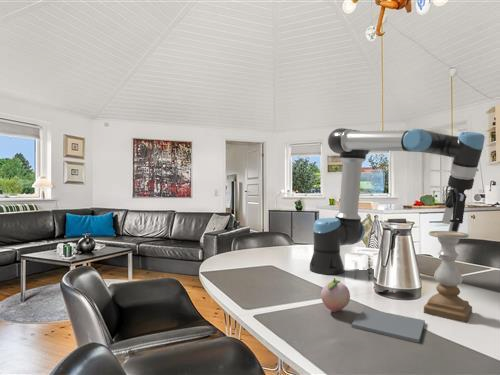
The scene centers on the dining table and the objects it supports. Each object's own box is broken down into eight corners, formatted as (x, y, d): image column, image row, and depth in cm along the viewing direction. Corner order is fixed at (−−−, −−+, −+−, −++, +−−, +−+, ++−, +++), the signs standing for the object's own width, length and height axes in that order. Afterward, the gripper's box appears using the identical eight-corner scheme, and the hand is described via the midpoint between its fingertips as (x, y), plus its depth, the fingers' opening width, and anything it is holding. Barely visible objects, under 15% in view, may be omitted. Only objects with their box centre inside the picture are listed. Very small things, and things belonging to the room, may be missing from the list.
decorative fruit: (348, 320, 91) (348, 284, 91) (319, 315, 94) (319, 281, 94) (351, 308, 100) (351, 276, 100) (324, 304, 103) (324, 273, 103)
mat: (351, 326, 86) (351, 323, 86) (364, 310, 98) (364, 308, 98) (418, 343, 77) (418, 339, 77) (424, 323, 89) (424, 320, 89)
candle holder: (472, 312, 98) (473, 233, 98) (466, 323, 89) (466, 236, 90) (431, 303, 105) (432, 229, 105) (422, 312, 97) (423, 232, 97)
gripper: (483, 188, 102) (466, 247, 109) (467, 169, 124) (454, 219, 131) (456, 185, 105) (441, 243, 112) (444, 166, 127) (433, 216, 134)
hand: (448, 230), depth 122 cm, fingers open, 13 cm apart
